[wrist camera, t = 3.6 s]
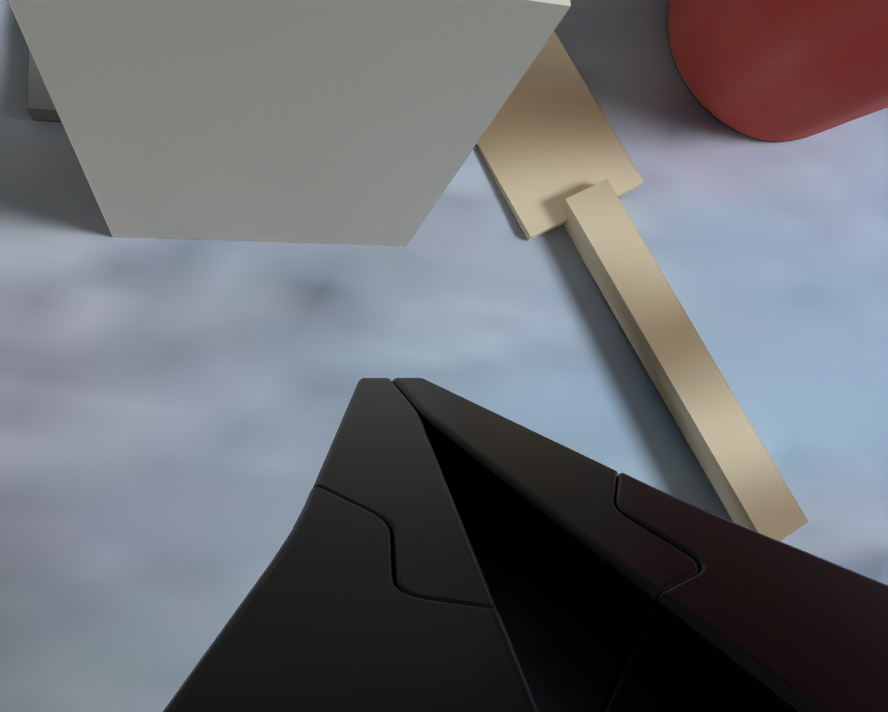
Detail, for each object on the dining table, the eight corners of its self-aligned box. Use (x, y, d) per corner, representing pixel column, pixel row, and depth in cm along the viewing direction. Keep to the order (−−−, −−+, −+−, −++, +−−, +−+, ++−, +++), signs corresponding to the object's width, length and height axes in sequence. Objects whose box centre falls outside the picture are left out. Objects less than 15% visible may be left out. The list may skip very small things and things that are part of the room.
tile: (406, 246, 21) (571, 5, 11) (112, 237, 19) (-27, -76, 9) (401, 166, 22) (554, -138, 12) (113, 147, 20) (-17, -250, 9)
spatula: (819, 498, 23) (842, 498, 22) (712, 571, 22) (731, 574, 21) (547, 37, 24) (557, 17, 23) (435, 83, 23) (440, 65, 22)
